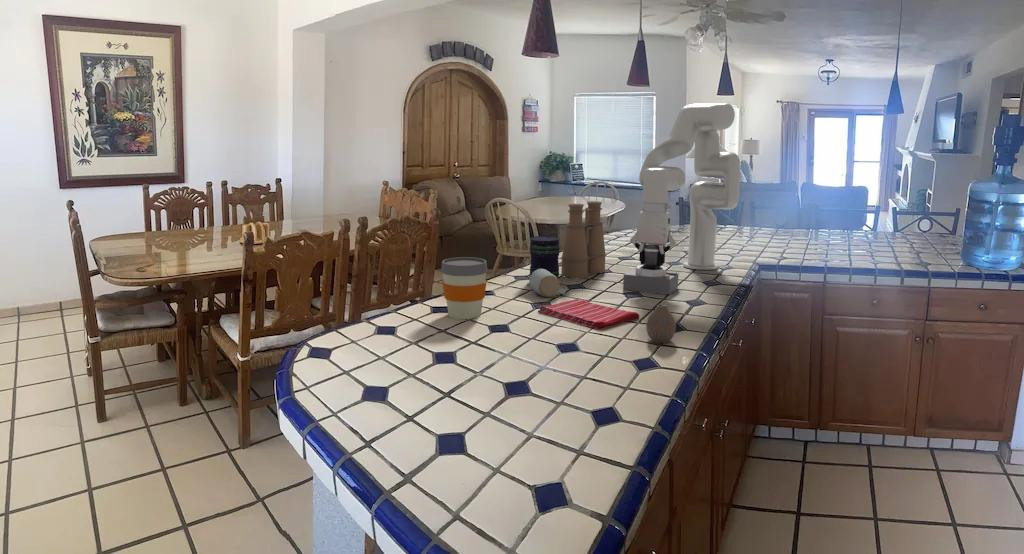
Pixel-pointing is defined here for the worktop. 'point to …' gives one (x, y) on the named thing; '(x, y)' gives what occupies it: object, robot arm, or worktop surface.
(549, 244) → the storage jar
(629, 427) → the worktop surface
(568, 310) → the dish towel
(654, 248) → the lens
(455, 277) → the reusable coffee cup
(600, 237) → the binoculars
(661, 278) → the camera body
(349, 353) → the worktop surface
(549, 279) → the ceramic mug
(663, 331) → the vase
